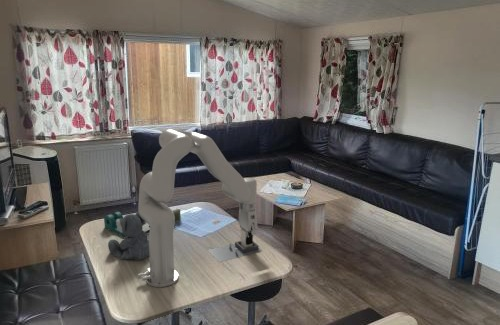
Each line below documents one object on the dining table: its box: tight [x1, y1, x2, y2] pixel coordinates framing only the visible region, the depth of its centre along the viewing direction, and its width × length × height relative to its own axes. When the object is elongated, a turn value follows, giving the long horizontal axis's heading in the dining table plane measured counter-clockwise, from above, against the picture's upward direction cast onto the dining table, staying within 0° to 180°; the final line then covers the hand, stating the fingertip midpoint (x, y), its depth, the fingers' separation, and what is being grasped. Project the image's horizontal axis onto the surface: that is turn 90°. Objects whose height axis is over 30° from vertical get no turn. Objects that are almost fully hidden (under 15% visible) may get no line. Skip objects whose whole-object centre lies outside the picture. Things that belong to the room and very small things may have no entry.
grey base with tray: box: [207, 240, 263, 263], centre depth 179 cm, size 22×12×4 cm, turn 120°
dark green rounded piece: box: [103, 211, 126, 238], centre depth 197 cm, size 18×7×8 cm, turn 53°
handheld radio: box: [144, 208, 182, 235], centre depth 202 cm, size 7×3×25 cm
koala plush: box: [107, 210, 149, 261], centre depth 173 cm, size 17×18×20 cm
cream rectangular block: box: [240, 228, 253, 248], centre depth 180 cm, size 4×4×8 cm
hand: (246, 241), depth 181 cm, fingers closed on cream rectangular block, 3 cm apart
